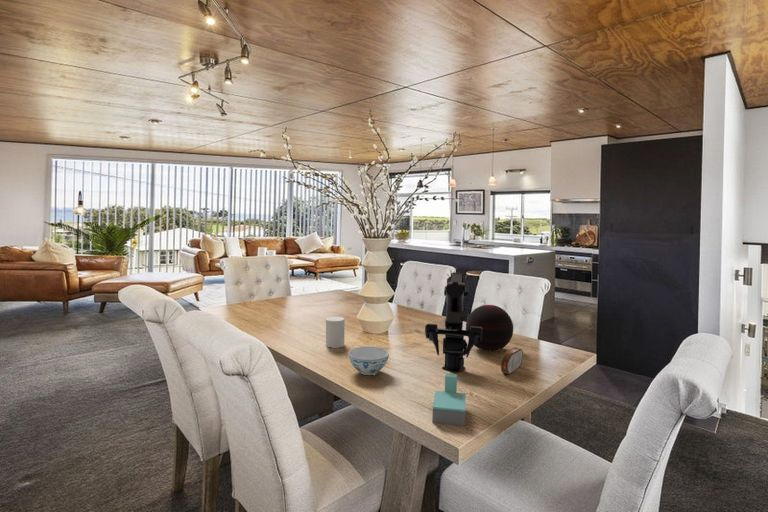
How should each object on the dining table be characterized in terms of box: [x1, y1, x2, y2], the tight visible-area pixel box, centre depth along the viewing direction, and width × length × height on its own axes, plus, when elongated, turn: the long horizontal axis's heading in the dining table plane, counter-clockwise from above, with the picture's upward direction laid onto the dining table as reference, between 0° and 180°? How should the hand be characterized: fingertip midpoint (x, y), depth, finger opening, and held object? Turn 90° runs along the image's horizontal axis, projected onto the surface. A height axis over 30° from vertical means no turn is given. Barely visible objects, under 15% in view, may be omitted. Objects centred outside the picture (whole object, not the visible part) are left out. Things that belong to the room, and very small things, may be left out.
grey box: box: [431, 408, 466, 427], centre depth 125 cm, size 10×9×4 cm
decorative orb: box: [465, 304, 514, 352], centre depth 187 cm, size 20×20×20 cm
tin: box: [500, 346, 524, 375], centre depth 163 cm, size 15×3×8 cm, turn 141°
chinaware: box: [348, 345, 390, 376], centre depth 159 cm, size 15×15×8 cm
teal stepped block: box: [432, 373, 467, 413], centre depth 126 cm, size 14×9×10 cm, turn 169°
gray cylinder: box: [325, 316, 345, 349], centre depth 191 cm, size 8×8×12 cm
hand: (452, 355), depth 139 cm, fingers open, 9 cm apart
